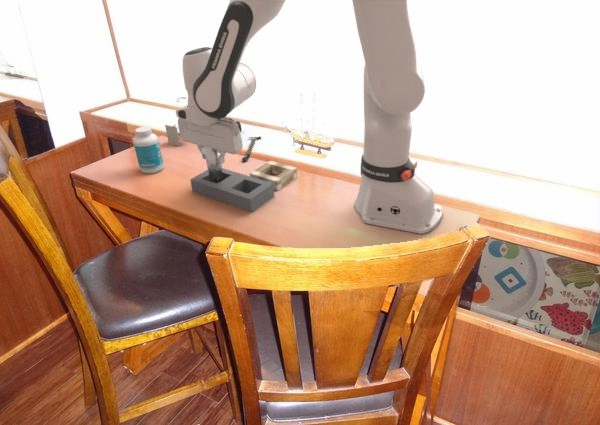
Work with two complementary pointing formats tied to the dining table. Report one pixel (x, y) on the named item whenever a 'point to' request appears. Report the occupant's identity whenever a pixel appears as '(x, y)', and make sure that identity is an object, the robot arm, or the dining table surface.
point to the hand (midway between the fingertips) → (213, 160)
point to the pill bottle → (148, 150)
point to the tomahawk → (250, 148)
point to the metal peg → (213, 164)
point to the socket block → (282, 170)
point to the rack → (234, 189)
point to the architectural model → (173, 135)
